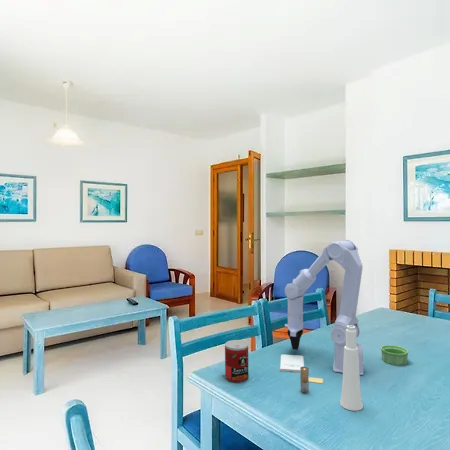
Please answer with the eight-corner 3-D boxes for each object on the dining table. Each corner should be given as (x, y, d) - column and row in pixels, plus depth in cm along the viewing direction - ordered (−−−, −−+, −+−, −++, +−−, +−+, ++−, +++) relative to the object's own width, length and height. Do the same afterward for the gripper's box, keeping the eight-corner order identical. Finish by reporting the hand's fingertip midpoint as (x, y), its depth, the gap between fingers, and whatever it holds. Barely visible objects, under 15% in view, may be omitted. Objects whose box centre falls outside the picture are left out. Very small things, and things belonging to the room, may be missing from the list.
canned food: (232, 385, 107) (232, 350, 107) (220, 374, 115) (220, 342, 114) (253, 379, 111) (253, 345, 111) (240, 370, 118) (240, 338, 118)
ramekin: (411, 360, 125) (411, 348, 125) (404, 368, 118) (404, 356, 118) (385, 354, 131) (385, 342, 131) (377, 361, 124) (377, 349, 124)
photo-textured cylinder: (309, 390, 104) (308, 367, 104) (308, 393, 102) (308, 370, 101) (300, 388, 105) (300, 366, 104) (300, 392, 102) (300, 369, 102)
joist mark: (323, 379, 111) (323, 378, 111) (322, 383, 108) (322, 383, 108) (307, 377, 112) (307, 376, 112) (306, 381, 109) (306, 380, 109)
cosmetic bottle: (342, 397, 99) (341, 321, 99) (364, 402, 96) (364, 324, 96) (337, 407, 94) (337, 327, 94) (361, 413, 91) (360, 330, 91)
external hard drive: (303, 360, 127) (304, 374, 115) (280, 358, 129) (279, 373, 117) (303, 355, 127) (304, 369, 115) (280, 354, 129) (279, 368, 117)
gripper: (287, 308, 140) (287, 341, 141) (281, 318, 127) (282, 355, 127) (305, 309, 138) (305, 343, 138) (301, 320, 124) (301, 357, 125)
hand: (295, 349), depth 133 cm, fingers closed
